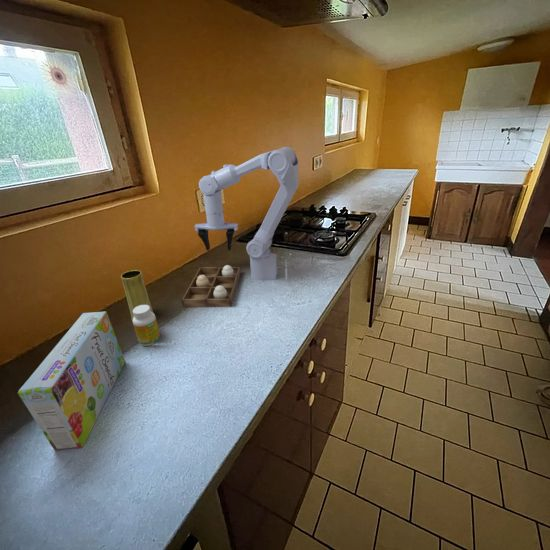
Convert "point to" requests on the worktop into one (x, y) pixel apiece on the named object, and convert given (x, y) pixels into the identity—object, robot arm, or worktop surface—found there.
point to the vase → (135, 290)
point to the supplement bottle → (145, 325)
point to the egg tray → (211, 288)
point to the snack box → (74, 381)
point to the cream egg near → (220, 292)
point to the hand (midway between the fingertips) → (219, 249)
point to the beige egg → (202, 281)
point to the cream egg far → (227, 271)
